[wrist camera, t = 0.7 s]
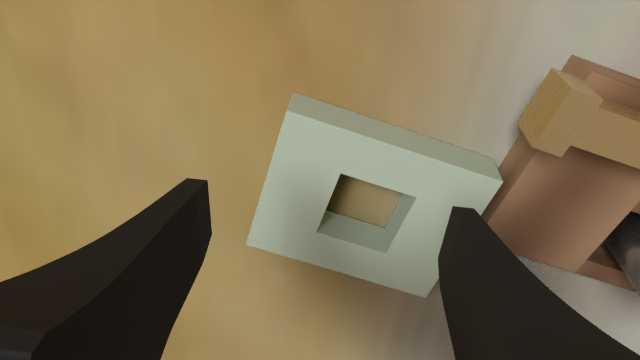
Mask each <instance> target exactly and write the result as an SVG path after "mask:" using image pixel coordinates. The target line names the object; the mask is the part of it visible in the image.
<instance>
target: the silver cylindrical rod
mask: <svg viewBox="0 0 640 360" xmlns="http://www.w3.org/2000/svg"><path fill="white" fill-rule="evenodd" d="M604 243H605V244H606V246H607V247H608V249H609V250H610V252H611V253H612V255H613V256H614V258H615V259H616V261H617V262H618V264H619V265H620V267H621V268H622V270H623V271H624V273H625V274H626V276H627V278H628V279H629V281H630V282H631V284H632V285H633V287H634V288H635V290H636V291H637V293H638V294H639V296H640V214H638V213H635V212H632V211H630V212H629V213H628V214H627V216H626V217H625V218H624V219H623V220H622V221H621V222H620V223H619V224H618V225H617V227H616V228H615V229H614V230H613V231H612V232H611V233H610V234H609V235H608V237H607V238H606V239H605V240H604Z"/></svg>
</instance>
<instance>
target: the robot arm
mask: <svg viewBox="0 0 640 360" xmlns="http://www.w3.org/2000/svg"><path fill="white" fill-rule="evenodd" d="M211 235H212V229H211V217H210V206H209V194H208V182H207V180H199V179H189V178H187V179H185V180H184V181H182V182H181V183H180V184H178V185H177V186H176V187H174V188H173V189H172V190H170V191H169V192H168V193H166V194H165V195H164V196H162V197H161V198H160V199H158V200H157V201H155V202H154V203H153V204H151V205H150V206H148V207H147V208H146V209H144V210H143V211H142V212H140V213H139V214H137V215H136V216H134V217H133V218H131V219H130V220H128V221H126V222H125V223H123V224H122V225H120V226H119V227H117V228H116V229H114V230H113V231H111V232H109V233H108V234H106V235H104V236H103V237H101V238H99V239H97V240H95V241H94V242H92V243H90V244H88V245H86V246H84V247H82V248H80V249H79V250H76V251H74V252H72V253H70V254H68V255H66V256H64V257H61V258H59V259H57V260H55V261H53V262H50V263H48V264H46V265H44V266H41V267H39V268H37V269H34V270H32V271H29V272H27V273H24V274H21V275H19V276H16V277H13V278H11V279H8V280H5V281H2V282H0V360H160V359H161V357H162V354H163V351H164V348H165V345H166V342H167V339H168V337H169V335H170V332H171V330H172V327H173V325H174V323H175V321H176V319H177V317H178V314H179V312H180V310H181V308H182V306H183V304H184V302H185V300H186V298H187V296H188V293H189V291H190V289H191V287H192V285H193V283H194V281H195V279H196V276H197V274H198V272H199V270H200V268H201V266H202V263H203V261H204V258H205V255H206V252H207V248H208V245H209V242H210V238H211ZM438 270H439V282H440V291H441V295H442V300H443V305H444V309H445V314H446V318H447V323H448V327H449V332H450V336H451V341H452V345H453V350H454V354H455V359H456V360H640V355H638V354H636V353H635V352H633V351H632V350H630V349H629V348H627V347H625V346H624V345H622V344H621V343H619V342H618V341H616V340H615V339H613V338H612V337H610V336H609V335H607V334H606V333H604V332H603V331H602V330H600V329H599V328H598V327H596V326H595V325H593V324H592V323H591V322H589V321H588V320H587V319H585V318H584V317H582V316H581V315H580V314H579V313H577V312H576V311H575V310H573V309H572V308H571V307H570V306H569V305H567V304H566V303H565V302H564V301H563V300H561V299H560V298H559V297H558V296H557V295H556V294H554V293H553V292H552V291H551V290H550V289H549V288H548V287H546V286H545V285H544V284H543V283H542V282H541V281H540V280H539V279H538V278H537V277H536V276H535V275H534V274H533V273H532V272H531V271H530V270H529V269H528V268H527V267H526V266H525V265H524V264H523V263H522V262H521V261H520V260H519V259H518V258H517V257H516V256H515V255H514V254H513V253H512V252H511V250H510V249H509V248H508V247H507V246H506V245H505V244H504V243H503V241H502V240H501V239H500V238H499V237H498V236H497V235H496V233H495V232H494V231H493V230H492V229H491V228H490V226H489V225H488V224H487V223H486V222H485V220H484V219H483V218H482V217H481V216H480V215H479V213H478V212H477V211H476V210H475V209H474V208H466V207H456V206H453V207H452V210H451V214H450V217H449V221H448V224H447V228H446V231H445V235H444V238H443V242H442V245H441V249H440V252H439V256H438Z"/></svg>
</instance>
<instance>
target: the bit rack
mask: <svg viewBox="0 0 640 360" xmlns="http://www.w3.org/2000/svg"><path fill="white" fill-rule="evenodd" d="M340 174H344V175H347V176H350V177H354V178H357V179H360V180H363V181H366V182H369V183H372V184H375V185H379V186H382V187H385V188H388V189H391V190H394V191H397V192H401V193H403V195H402V196H401V198H400V200H399V202H398V204H397V206H396V208H395V210H394V212H393V214H392V215H391V217H390V219H389V221H388V223H387V225H386V227H385V228H382V227H379V226H376V225H372V224H369V223H366V222H363V221H359V220H356V219H353V218H350V217H347V216H343V215H340V214H337V213H334V212H330V211H327V210H326V208H327V205H328V203H329V200H330V198H331V196H332V193H333V191H334V188H335V186H336V184H337V181H338V179H339V176H340ZM502 183H503V180H502V178H501V175H500V173H499V171H498V169H497V167H496V164H495V162H494V160H493V159H492V158H489V157H486V156H483V155H480V154H477V153H474V152H471V151H468V150H465V149H462V148H459V147H456V146H453V145H450V144H447V143H444V142H441V141H438V140H435V139H432V138H429V137H426V136H423V135H420V134H417V133H414V132H411V131H408V130H405V129H402V128H399V127H396V126H393V125H390V124H387V123H384V122H382V121H379V120H376V119H373V118H370V117H367V116H364V115H361V114H358V113H355V112H352V111H349V110H346V109H343V108H340V107H337V106H334V105H331V104H328V103H325V102H322V101H319V100H316V99H313V98H310V97H307V96H304V95H301V94H298V93H295V92H293V94H292V97H291V100H290V102H289V105H288V108H287V111H286V114H285V117H284V121H283V124H282V127H281V131H280V134H279V137H278V140H277V144H276V147H275V150H274V154H273V157H272V160H271V163H270V167H269V170H268V173H267V177H266V180H265V183H264V186H263V190H262V193H261V196H260V200H259V203H258V206H257V209H256V213H255V216H254V219H253V223H252V226H251V229H250V232H249V236H248V239H247V242H246V245H249V246H252V247H256V248H259V249H262V250H266V251H269V252H272V253H276V254H279V255H282V256H286V257H289V258H293V259H296V260H299V261H303V262H306V263H309V264H313V265H316V266H319V267H323V268H326V269H330V270H333V271H336V272H340V273H343V274H346V275H350V276H353V277H356V278H360V279H363V280H366V281H370V282H373V283H377V284H380V285H383V286H387V287H390V288H393V289H397V290H400V291H403V292H407V293H410V294H414V295H417V296H420V297H424V298H426V297H427V295H428V294H429V292H430V291H431V289H432V288H433V286H434V285H435V283H436V282H437V280H438V279H439V270H438V256H439V252H440V249H441V245H442V242H443V238H444V235H445V231H446V228H447V224H448V221H449V217H450V214H451V210H452V207H453V206H456V207H466V208H474V209H475V210H476V211H477V212H478V213H479V215H480V216H481V214H482V213H483V211H484V210H485V208H486V207H487V205H488V204H489V202H490V201H491V200H492V198H493V197H494V195H495V194H496V192H497V191H498V189H499V188H500V186H501V185H502Z"/></svg>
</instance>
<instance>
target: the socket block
mask: <svg viewBox="0 0 640 360" xmlns="http://www.w3.org/2000/svg"><path fill="white" fill-rule="evenodd" d="M561 72H564V73H567V74H570V75H573V76H575V77H578V78H581V79H582V80H583V81H584V82H585V83H586V84H587V85H588V86H589V87H590V88H592V89H593V90H594V91H595V92H596V93H597V94H598V95H599V96H600V97H601V98H604V99H606V100H609V101H612V102H615V103H618V104H620V105H623V106H626V107H629V108H632V109H634V110H637V111H640V80H639V79H637V78H634V77H631V76H628V75H626V74H623V73H620V72H617V71H615V70H612V69H609V68H606V67H604V66H601V65H598V64H595V63H593V62H590V61H587V60H585V59H582V58H579V57H576V56H574V55H572V56H571V57H570V59H569V60H568V62H567V63H566V65H565V66H564V68H563V70H562V71H561ZM498 171H499V173H500V175H501V178H502V180H503V183H502V185H501V186H500V188H499V189H498V191H497V192H496V194H495V195H494V197H493V198H492V200H491V201H490V202H489V204H488V205H487V207H486V208H485V210H484V211H483V213H482V214H481V217H482V218H483V219H484V220H485V222H486V223H487V224H488V225H489V226H490V228H491V229H492V230H493V231H494V232H495V233H496V235H497V236H498V237H499V238H500V239H501V240H502V241H503V243H504V244H505V245H506V246H507V247H508V248H509V249H510V250H511V252H512V253H514V254H517V255H520V256H523V257H527V258H530V259H533V260H536V261H539V262H543V263H546V264H549V265H552V266H555V267H559V268H562V269H565V270H568V271H571V272H574V273H578V274H581V275H584V276H587V277H590V278H594V279H597V280H600V281H603V282H606V283H609V284H613V285H616V286H619V287H622V288H625V289H629V290H632V291H635V292H637V291H636V290H635V288H634V287H633V285H632V284H631V282H630V281H629V279H628V278H627V276H626V274H625V273H624V271H623V270H622V268H621V267H620V265H619V264H618V262H617V261H616V259H615V258H614V256H613V255H612V253H611V252H610V250H609V249H608V247H607V246H606V245H605V244H601V243H602V242H603V241H604V240H605V239H606V238H607V237H608V235H609V234H610V233H611V232H612V231H613V230H614V229H615V228H616V227H617V225H618V224H619V223H620V222H621V221H622V220H623V219H624V218H625V217H626V216H627V214H628V213H629V212H630V211H632V212H635V213H638V214H640V169H638V168H635V167H632V166H629V165H626V164H623V163H621V162H618V161H615V160H612V159H609V158H606V157H603V156H600V155H597V154H594V153H591V152H589V151H586V150H583V149H580V148H577V147H574V146H571V145H570V146H569V148H568V149H567V151H566V152H565V153H564V155H563V156H562V157H559V156H556V155H553V154H550V153H547V152H544V151H541V150H538V149H535V148H533V147H531V145H530V143H529V142H528V140H527V139H526V137H525V135H524V134H523V132H522V133H521V134H520V136H519V137H518V139H517V140H516V142H515V144H514V145H513V147H512V148H511V150H510V151H509V153H508V154H507V156H506V157H505V159H504V160H503V162H502V164H501V165H500V167H499V168H498Z"/></svg>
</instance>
